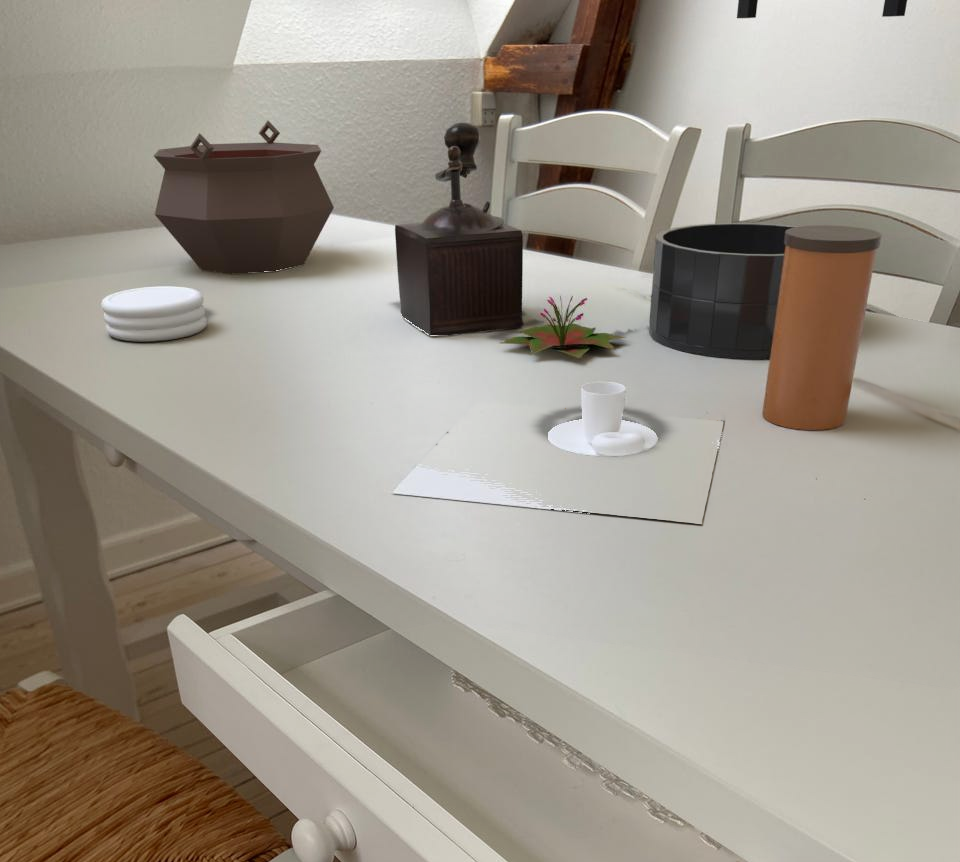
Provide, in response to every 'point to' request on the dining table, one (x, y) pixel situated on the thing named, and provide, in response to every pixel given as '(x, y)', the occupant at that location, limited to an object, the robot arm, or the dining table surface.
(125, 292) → the coaster
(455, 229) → the coffee grinder
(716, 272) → the pot
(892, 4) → the robot arm
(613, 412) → the teacup and saucer
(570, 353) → the lily flower
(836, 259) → the travel tumbler
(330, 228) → the dining table surface
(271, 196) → the brown cauldron
